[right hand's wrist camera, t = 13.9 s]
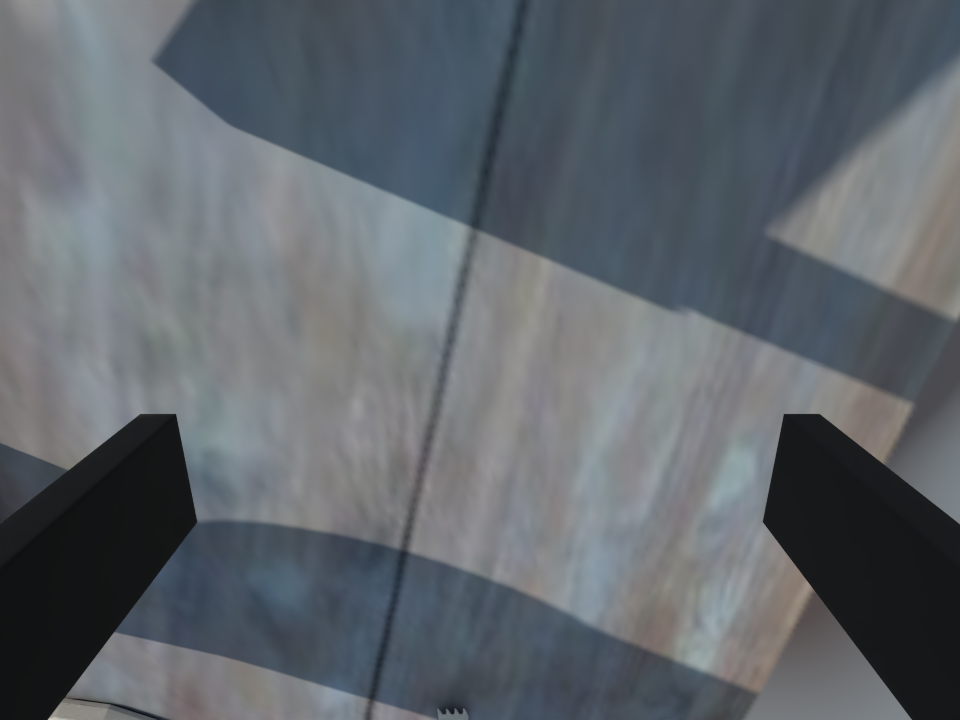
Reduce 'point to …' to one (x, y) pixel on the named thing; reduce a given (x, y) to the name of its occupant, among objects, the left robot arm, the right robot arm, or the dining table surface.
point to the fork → (452, 715)
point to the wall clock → (92, 712)
